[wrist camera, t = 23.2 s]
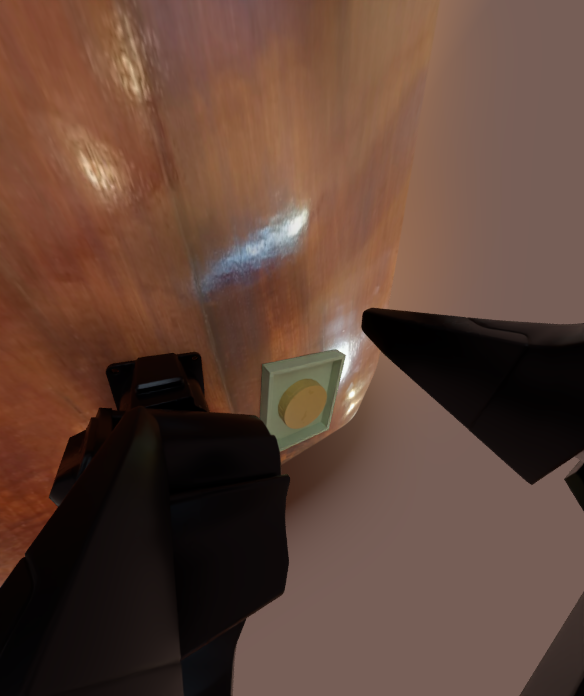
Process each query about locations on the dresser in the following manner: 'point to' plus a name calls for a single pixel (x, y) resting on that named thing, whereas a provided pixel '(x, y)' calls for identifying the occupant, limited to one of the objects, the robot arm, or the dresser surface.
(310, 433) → the tray
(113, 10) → the dresser surface
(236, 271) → the dresser surface
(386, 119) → the dresser surface
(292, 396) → the lid
